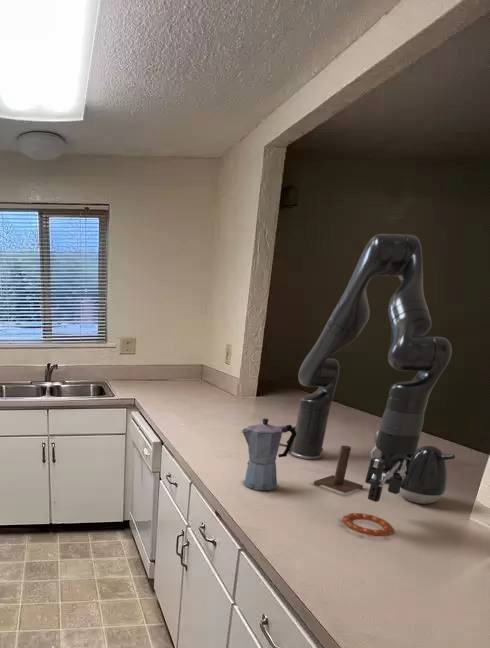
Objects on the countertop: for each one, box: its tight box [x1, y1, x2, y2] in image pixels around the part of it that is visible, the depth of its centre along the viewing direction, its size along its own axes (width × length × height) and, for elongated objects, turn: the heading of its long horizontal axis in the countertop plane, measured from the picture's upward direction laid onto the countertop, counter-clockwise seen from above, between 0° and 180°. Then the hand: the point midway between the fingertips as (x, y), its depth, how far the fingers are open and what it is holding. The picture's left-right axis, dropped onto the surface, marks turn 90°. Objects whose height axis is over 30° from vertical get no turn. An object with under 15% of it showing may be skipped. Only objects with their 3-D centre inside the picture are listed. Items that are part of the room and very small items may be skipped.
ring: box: [341, 512, 394, 537], centre depth 102 cm, size 10×10×2 cm
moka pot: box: [241, 418, 297, 491], centre depth 123 cm, size 10×15×20 cm, turn 95°
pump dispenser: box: [399, 445, 456, 505], centre depth 114 cm, size 10×10×15 cm
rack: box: [313, 445, 364, 494], centre depth 123 cm, size 9×9×12 cm
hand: (383, 496), depth 101 cm, fingers open, 8 cm apart
